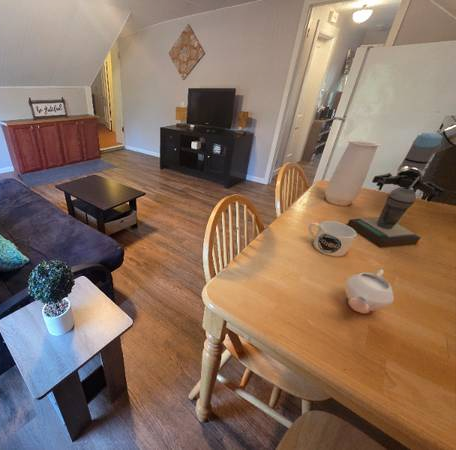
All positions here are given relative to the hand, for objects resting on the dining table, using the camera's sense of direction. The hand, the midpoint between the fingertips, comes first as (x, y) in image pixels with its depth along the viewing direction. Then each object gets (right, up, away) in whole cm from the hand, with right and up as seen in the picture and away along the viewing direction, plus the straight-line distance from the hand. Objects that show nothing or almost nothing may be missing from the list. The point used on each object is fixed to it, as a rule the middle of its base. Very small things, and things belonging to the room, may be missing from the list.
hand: (404, 192), depth 88 cm
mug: (-30, -20, -1) cm, 36 cm away
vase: (-2, -1, +30) cm, 30 cm away
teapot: (-36, -34, -23) cm, 55 cm away
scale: (-4, -16, +6) cm, 17 cm away
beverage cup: (-4, -13, +4) cm, 14 cm away
